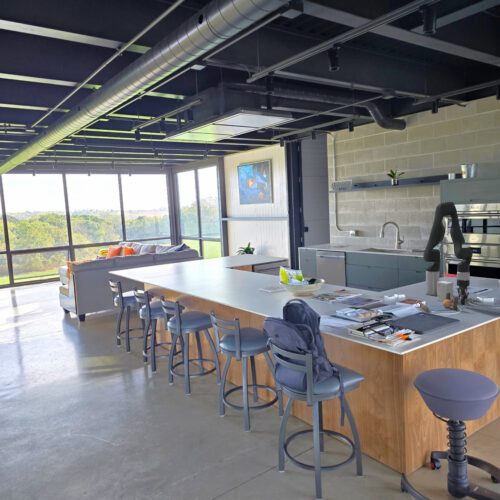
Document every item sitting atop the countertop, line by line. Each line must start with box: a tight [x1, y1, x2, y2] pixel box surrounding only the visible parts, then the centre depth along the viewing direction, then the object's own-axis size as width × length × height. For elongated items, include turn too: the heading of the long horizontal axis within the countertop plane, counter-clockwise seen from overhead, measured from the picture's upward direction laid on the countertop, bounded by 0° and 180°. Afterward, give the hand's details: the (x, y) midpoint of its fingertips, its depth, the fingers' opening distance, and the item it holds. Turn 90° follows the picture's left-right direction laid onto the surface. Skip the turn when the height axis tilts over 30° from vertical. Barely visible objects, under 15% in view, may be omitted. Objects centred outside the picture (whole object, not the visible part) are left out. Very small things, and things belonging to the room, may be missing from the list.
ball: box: [442, 299, 453, 309], centre depth 279 cm, size 6×6×6 cm
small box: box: [436, 280, 454, 302], centre depth 296 cm, size 8×6×13 cm
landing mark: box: [424, 304, 452, 312], centre depth 281 cm, size 13×13×1 cm
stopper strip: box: [415, 300, 430, 313], centre depth 282 cm, size 20×2×2 cm, turn 175°
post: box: [452, 296, 459, 311], centre depth 273 cm, size 3×3×8 cm
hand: (462, 304), depth 279 cm, fingers closed
